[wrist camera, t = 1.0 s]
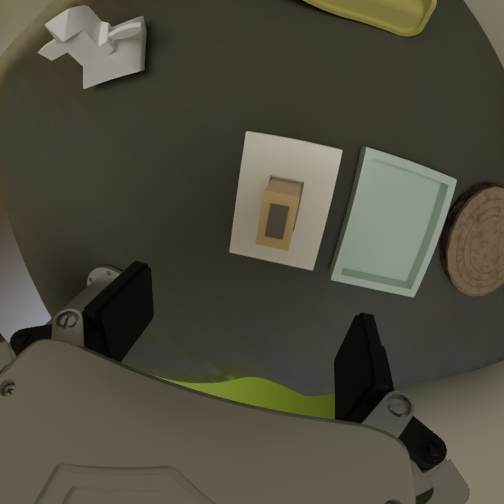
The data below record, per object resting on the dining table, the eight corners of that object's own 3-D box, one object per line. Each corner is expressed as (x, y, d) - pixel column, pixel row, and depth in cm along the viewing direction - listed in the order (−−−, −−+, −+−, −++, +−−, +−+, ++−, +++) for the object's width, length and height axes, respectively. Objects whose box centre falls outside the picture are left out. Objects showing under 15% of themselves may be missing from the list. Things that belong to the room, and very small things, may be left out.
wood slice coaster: (419, 233, 30) (427, 242, 28) (491, 158, 24) (504, 161, 21) (462, 303, 33) (469, 314, 30) (525, 240, 26) (535, 248, 23)
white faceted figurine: (169, 71, 27) (98, 51, 15) (88, 93, 30) (16, 95, 17) (171, 17, 24) (109, -21, 11) (91, 44, 26) (23, 34, 14)
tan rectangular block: (292, 222, 32) (288, 251, 24) (267, 217, 32) (255, 244, 25) (301, 181, 29) (299, 197, 22) (274, 175, 30) (264, 190, 22)
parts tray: (408, 287, 33) (413, 297, 31) (329, 270, 34) (330, 279, 32) (447, 175, 26) (456, 179, 24) (361, 145, 27) (366, 147, 25)
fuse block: (312, 259, 34) (312, 270, 32) (235, 242, 35) (229, 252, 33) (338, 148, 28) (342, 150, 25) (251, 131, 29) (246, 131, 26)
